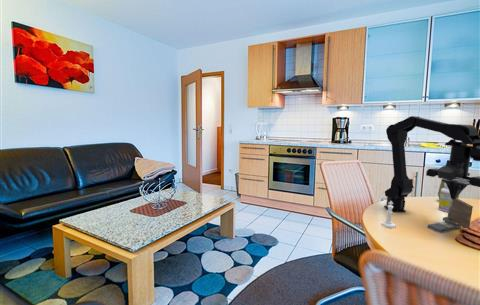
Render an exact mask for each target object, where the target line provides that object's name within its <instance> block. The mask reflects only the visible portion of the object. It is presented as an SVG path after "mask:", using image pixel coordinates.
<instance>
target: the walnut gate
mask: <svg viewBox="0 0 480 305" xmlns="http://www.w3.org/2000/svg"><path fill="white" fill-rule="evenodd" d="M473 208H474V205H471V204H469V203H467V202H466V201H463V200H462V199H459V198H456V199H451V198H450V204H449V211H448V212H447V213H448V214H447V217H448V218H450V219H451V220H453V221H454V222H456V224H459V225H460V226H461V228H462V229H464V228H469V229H470V225H471V219H472V215H473V214H472V213H473Z"/></svg>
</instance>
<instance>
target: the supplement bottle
mask: <svg viewBox="0 0 480 305" xmlns="http://www.w3.org/2000/svg"><path fill="white" fill-rule="evenodd" d="M444 186H445V187H444V188H442V189H441V192H440V200H439V199H438V210H440V211H442V212H445V213H448V211H449V204H450V198H451V196H450V192H449V189H448V186H447V184H446V183H444ZM457 198H458V199H459V198H460V194H459V195H458V197H457Z"/></svg>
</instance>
